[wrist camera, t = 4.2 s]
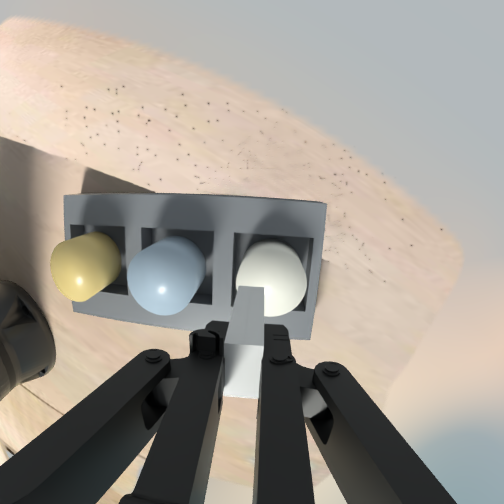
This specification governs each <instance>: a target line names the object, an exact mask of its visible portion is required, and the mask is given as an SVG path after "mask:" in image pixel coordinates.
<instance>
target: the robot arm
mask: <svg viewBox="0 0 504 504" xmlns="http://www.w3.org/2000/svg"><path fill="white" fill-rule="evenodd" d="M189 341H190V354H189V356H188V357H186V358H181V359H170V355H169V354H168V353H167V352H165V351H163V350H159V349H149V350H145V351H143V352H141V353H140V354H138V355H137V356H136V357H135V358H133V359H132V360H131V361H130V362H129V363H127V364H126V365H125V366H124V367H122V368H121V369H120V370H119V371H118V372H116V373H115V374H114V375H113V376H111V377H110V378H109V379H108V380H107V381H105V382H104V383H103V384H102V385H100V386H99V387H98V388H97V389H95V390H94V391H93V392H92V393H91V394H89V395H88V396H87V397H86V398H84V399H83V400H82V401H81V402H80V403H78V404H77V405H76V406H75V407H73V408H72V409H71V410H70V411H68V412H67V413H66V414H65V415H63V416H62V417H61V418H60V419H59V420H57V421H56V422H55V423H54V424H52V425H51V426H50V427H49V428H47V429H46V430H45V431H44V432H42V433H41V434H40V435H39V436H37V437H36V438H35V439H34V440H32V441H31V442H30V443H29V444H27V445H26V446H25V447H24V448H22V449H21V450H20V451H19V452H17V453H16V454H15V455H14V456H12V457H11V458H10V459H9V460H7V461H6V462H5V463H4V464H2V465H1V466H0V504H96V503H97V502H98V501H99V499H100V498H101V497H102V496H103V495H104V494H105V493H106V491H107V490H108V489H109V488H110V487H111V486H112V485H113V483H114V482H115V481H116V480H117V479H118V478H119V476H120V475H121V474H122V473H123V472H124V471H125V469H126V468H127V467H128V466H129V465H130V464H131V462H132V461H133V460H134V459H135V458H136V456H137V455H138V454H139V453H140V452H141V450H142V449H143V448H144V447H145V446H146V444H147V443H148V442H149V441H150V439H151V438H152V437H153V436H154V435H155V433H156V432H157V433H156V436H155V438H154V441H153V443H152V446H151V448H150V451H149V453H148V456H147V458H146V461H145V463H144V466H143V468H142V471H141V473H140V476H139V479H138V481H137V484H136V486H135V489H134V491H133V492H132V493H131V494H126V495H124V496H123V497H122V498H121V500H120V502H119V504H204V500H205V495H206V490H207V484H208V479H209V473H210V468H211V463H212V457H213V452H214V447H215V441H216V436H217V431H218V425H219V420H220V415H221V409H222V404H223V396H230V397H241V398H255V399H258V408H257V418H256V419H257V430H256V449H255V468H254V486H253V503H252V504H315V502H314V493H313V483H312V475H311V467H310V459H309V451H308V443H307V435H306V428H305V423H306V425H307V427H308V429H309V431H310V433H311V435H312V437H313V439H314V440H315V442H316V444H317V446H318V448H319V450H320V452H321V454H322V456H323V458H324V460H325V462H326V464H327V466H328V468H329V470H330V472H331V474H332V475H333V477H334V479H335V481H336V483H337V485H338V487H339V489H340V491H341V493H342V494H343V496H344V498H345V500H346V502H347V504H457V503H456V502H455V501H454V499H453V498H452V497H451V496H450V495H449V493H448V492H447V491H446V490H445V488H444V487H443V486H442V485H441V483H440V482H439V481H438V480H437V479H436V478H435V476H434V475H433V474H432V472H431V471H430V470H429V469H428V468H427V467H426V465H425V464H424V463H423V461H422V460H421V459H420V458H419V457H418V455H417V454H416V453H415V452H414V450H413V449H412V448H411V447H410V446H409V445H408V443H407V442H406V441H405V439H404V438H403V437H402V436H401V435H400V433H399V432H398V431H397V430H396V428H395V427H394V426H393V425H392V424H391V422H390V421H389V420H388V419H387V417H386V416H385V415H384V414H383V412H382V411H381V410H380V409H379V408H378V406H377V405H376V404H375V403H374V401H373V400H372V399H371V398H370V397H369V395H368V394H367V393H366V392H365V390H364V389H363V388H362V387H361V386H360V384H359V383H358V382H357V381H356V379H355V378H354V377H353V376H352V375H351V373H350V372H349V371H348V370H347V368H345V367H344V366H343V365H341V364H339V363H336V362H322V363H319V364H318V365H316V366H315V369H310V368H306V367H303V366H301V365H298V364H297V363H296V360H295V358H294V357H293V356H292V352H291V345H290V338H289V332H288V329H287V328H286V327H285V326H284V325H280V324H264V287H253V286H238V290H237V294H236V298H235V302H234V306H233V310H232V314H231V318H230V322H226V321H215V320H212V321H211V322H209V323H208V324H206V327H205V329H198V330H195V331H193V332H191V334H190V335H189ZM55 360H56V350H55V344H54V340H53V336H52V333H51V331H50V328H49V326H48V323H47V321H46V319H45V317H44V315H43V314H42V312H41V310H40V309H39V307H38V306H37V304H36V303H35V301H34V300H33V299H32V298H31V296H30V295H29V294H28V293H27V292H26V291H25V290H24V289H23V288H21V287H20V286H19V285H17V284H15V283H13V282H11V281H1V282H0V401H1V400H2V399H3V398H4V397H5V396H6V395H7V394H8V393H9V392H10V391H11V390H12V389H13V388H14V387H16V386H17V385H19V384H22V383H25V382H28V381H31V380H34V379H37V378H39V377H42V376H44V375H46V374H47V373H48V372H49V371H51V370H52V368H53V367H54V364H55Z"/></svg>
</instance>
